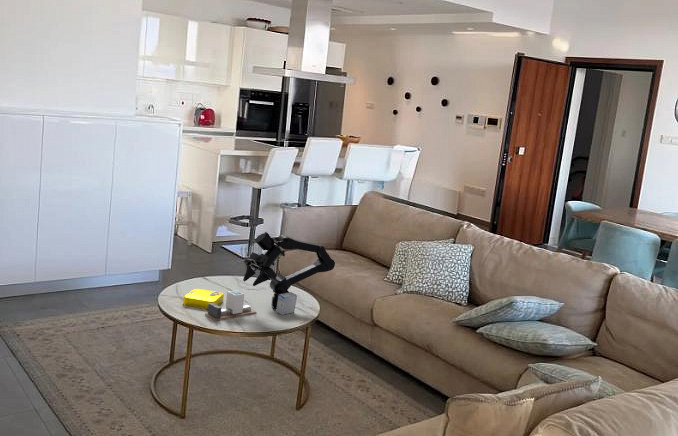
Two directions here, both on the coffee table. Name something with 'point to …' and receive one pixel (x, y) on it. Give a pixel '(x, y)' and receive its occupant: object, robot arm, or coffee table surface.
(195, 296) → the element tile
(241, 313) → the mounting board
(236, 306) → the block
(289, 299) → the medicine box
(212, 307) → the rail
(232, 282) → the coffee table surface
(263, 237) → the robot arm
